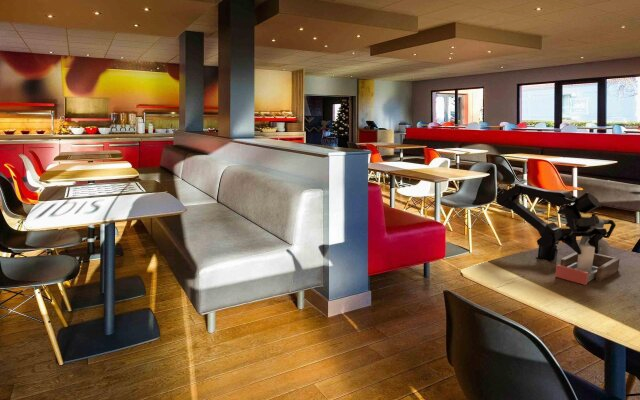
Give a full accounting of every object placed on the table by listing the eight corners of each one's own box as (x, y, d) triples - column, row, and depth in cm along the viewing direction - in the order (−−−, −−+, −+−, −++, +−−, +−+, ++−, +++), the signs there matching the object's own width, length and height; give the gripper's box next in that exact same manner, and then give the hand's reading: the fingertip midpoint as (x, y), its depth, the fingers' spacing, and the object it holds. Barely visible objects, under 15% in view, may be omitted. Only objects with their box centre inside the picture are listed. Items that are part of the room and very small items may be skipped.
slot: (559, 270, 180) (561, 258, 179) (578, 261, 192) (580, 249, 191) (600, 281, 169) (601, 268, 168) (618, 270, 181) (619, 258, 180)
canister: (573, 270, 178) (577, 246, 176) (579, 267, 181) (582, 243, 179) (588, 274, 174) (591, 249, 172) (593, 271, 177) (597, 246, 175)
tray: (555, 276, 174) (556, 265, 173) (573, 267, 184) (575, 256, 183) (585, 284, 165) (587, 273, 165) (603, 274, 176) (604, 263, 175)
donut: (610, 262, 191) (613, 239, 189) (607, 263, 189) (610, 240, 187) (584, 256, 199) (587, 234, 197) (581, 257, 196) (584, 235, 194)
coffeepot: (573, 253, 201) (578, 214, 198) (570, 247, 210) (575, 210, 206) (614, 258, 196) (619, 217, 193) (608, 251, 205) (614, 212, 201)
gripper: (562, 208, 175) (576, 244, 167) (607, 207, 177) (624, 243, 168) (548, 223, 185) (561, 257, 176) (591, 222, 186) (606, 256, 178)
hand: (588, 253), depth 174 cm, fingers open, 7 cm apart
